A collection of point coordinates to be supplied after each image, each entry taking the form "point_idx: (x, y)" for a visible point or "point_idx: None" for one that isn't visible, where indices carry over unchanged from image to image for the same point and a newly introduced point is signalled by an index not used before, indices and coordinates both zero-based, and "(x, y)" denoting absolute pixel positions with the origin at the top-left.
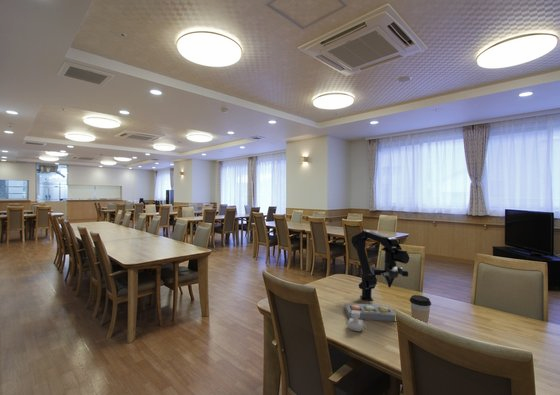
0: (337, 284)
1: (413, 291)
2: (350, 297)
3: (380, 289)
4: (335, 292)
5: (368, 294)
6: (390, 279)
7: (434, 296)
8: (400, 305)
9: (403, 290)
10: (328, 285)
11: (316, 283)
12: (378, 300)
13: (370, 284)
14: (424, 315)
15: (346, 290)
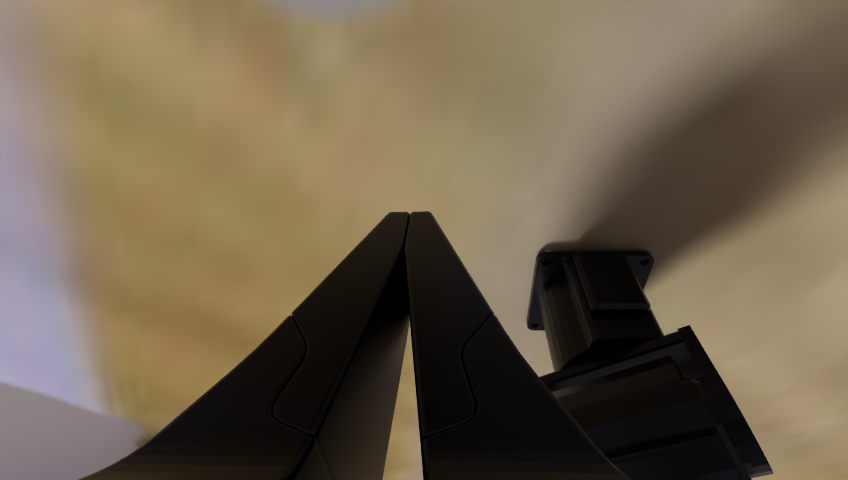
0: None
1: (165, 425)
2: (741, 292)
3: (392, 433)
4: (815, 368)
5: (613, 290)
6: (349, 438)
7: (11, 376)
8: (272, 175)
9: None
10: (771, 456)
11: (844, 473)
12: (477, 262)
13: (662, 395)
14: None
15: None
